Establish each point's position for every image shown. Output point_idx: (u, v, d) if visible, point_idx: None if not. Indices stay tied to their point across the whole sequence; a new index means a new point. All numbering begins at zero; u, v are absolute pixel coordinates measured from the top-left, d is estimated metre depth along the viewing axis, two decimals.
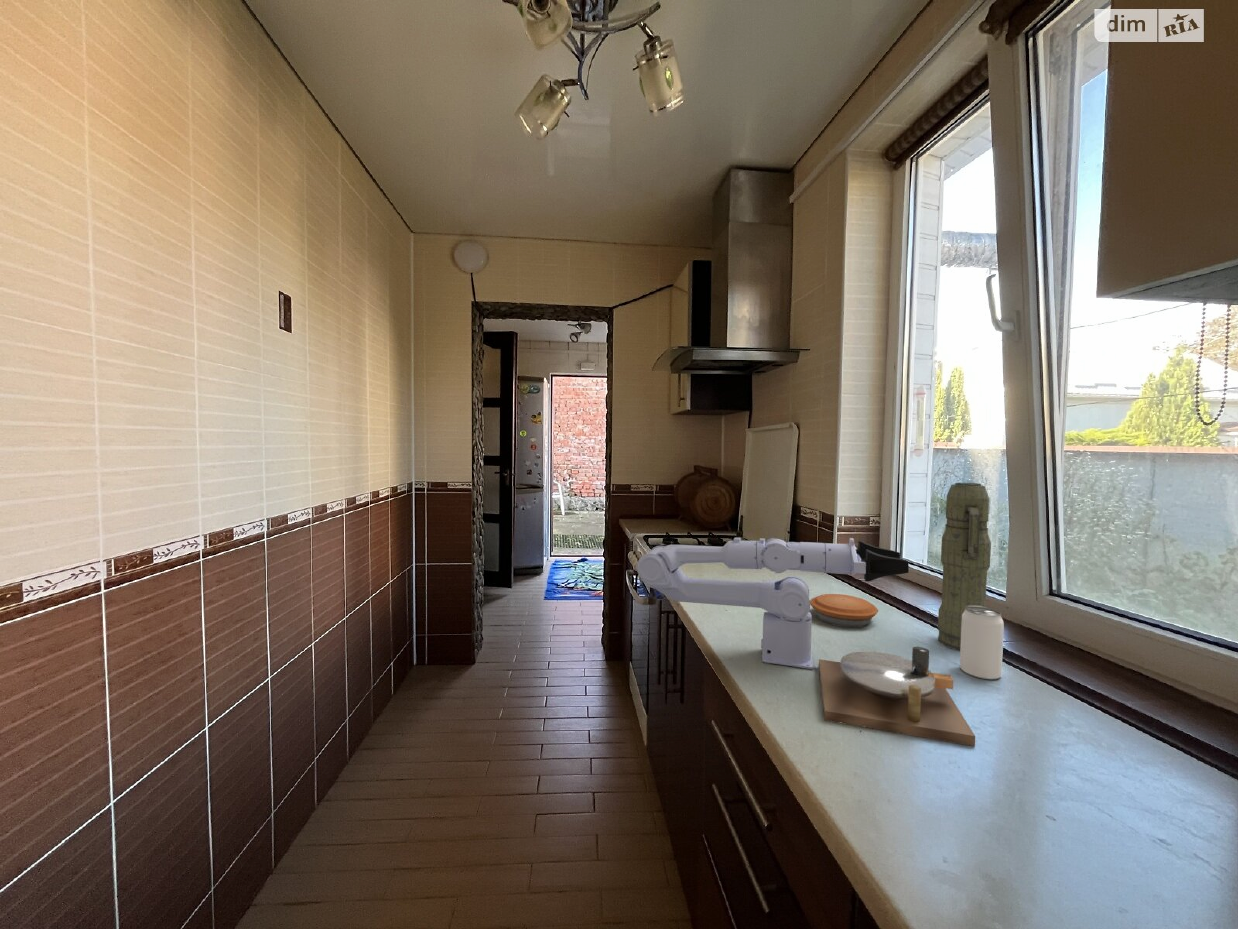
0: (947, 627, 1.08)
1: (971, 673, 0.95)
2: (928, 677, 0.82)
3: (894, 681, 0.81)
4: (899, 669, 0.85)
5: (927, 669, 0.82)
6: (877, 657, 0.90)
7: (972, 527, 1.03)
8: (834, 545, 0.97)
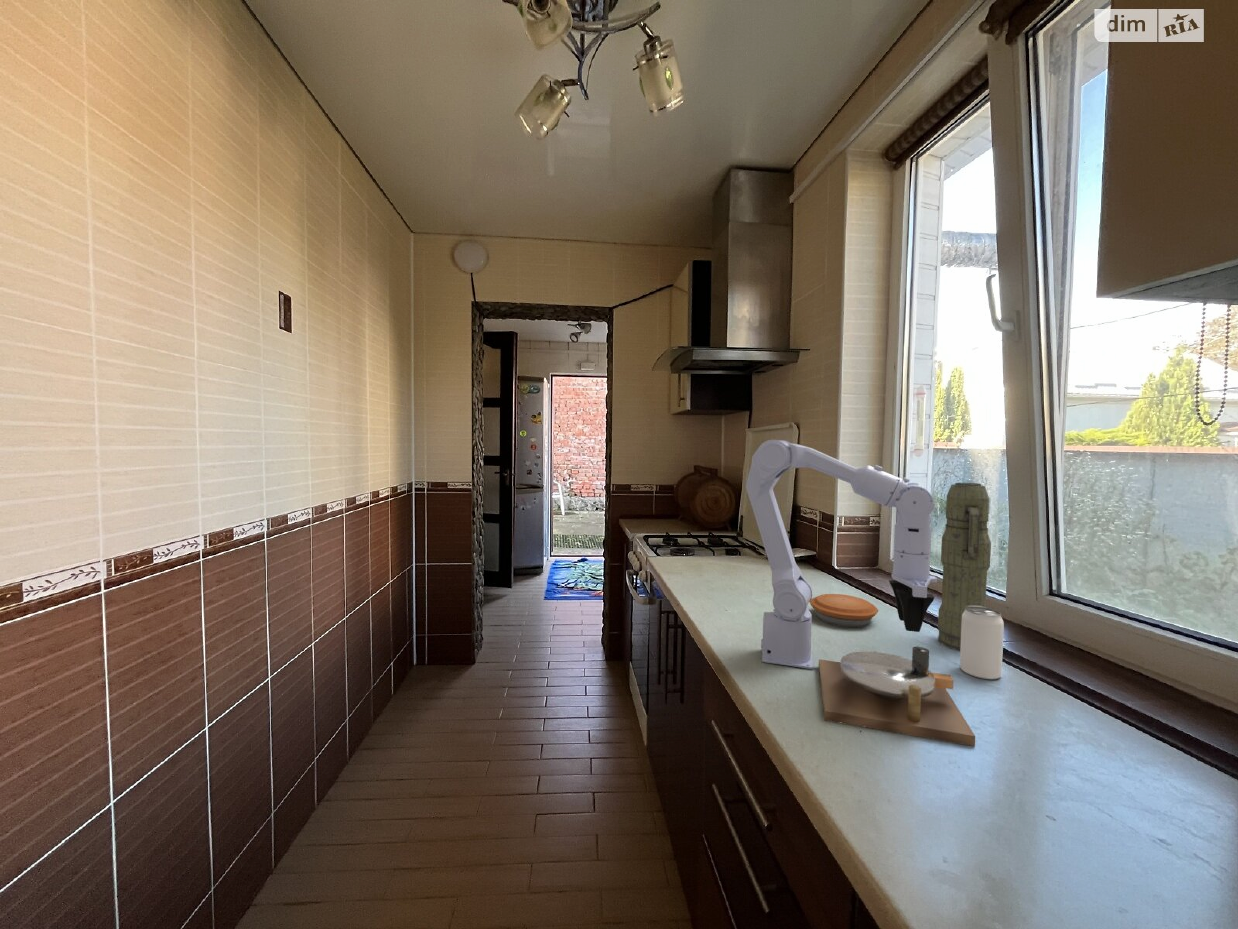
0: (947, 627, 1.08)
1: (971, 673, 0.95)
2: (928, 677, 0.82)
3: (894, 681, 0.81)
4: (899, 669, 0.85)
5: (927, 669, 0.82)
6: (877, 657, 0.90)
7: (972, 527, 1.03)
8: (929, 562, 0.89)
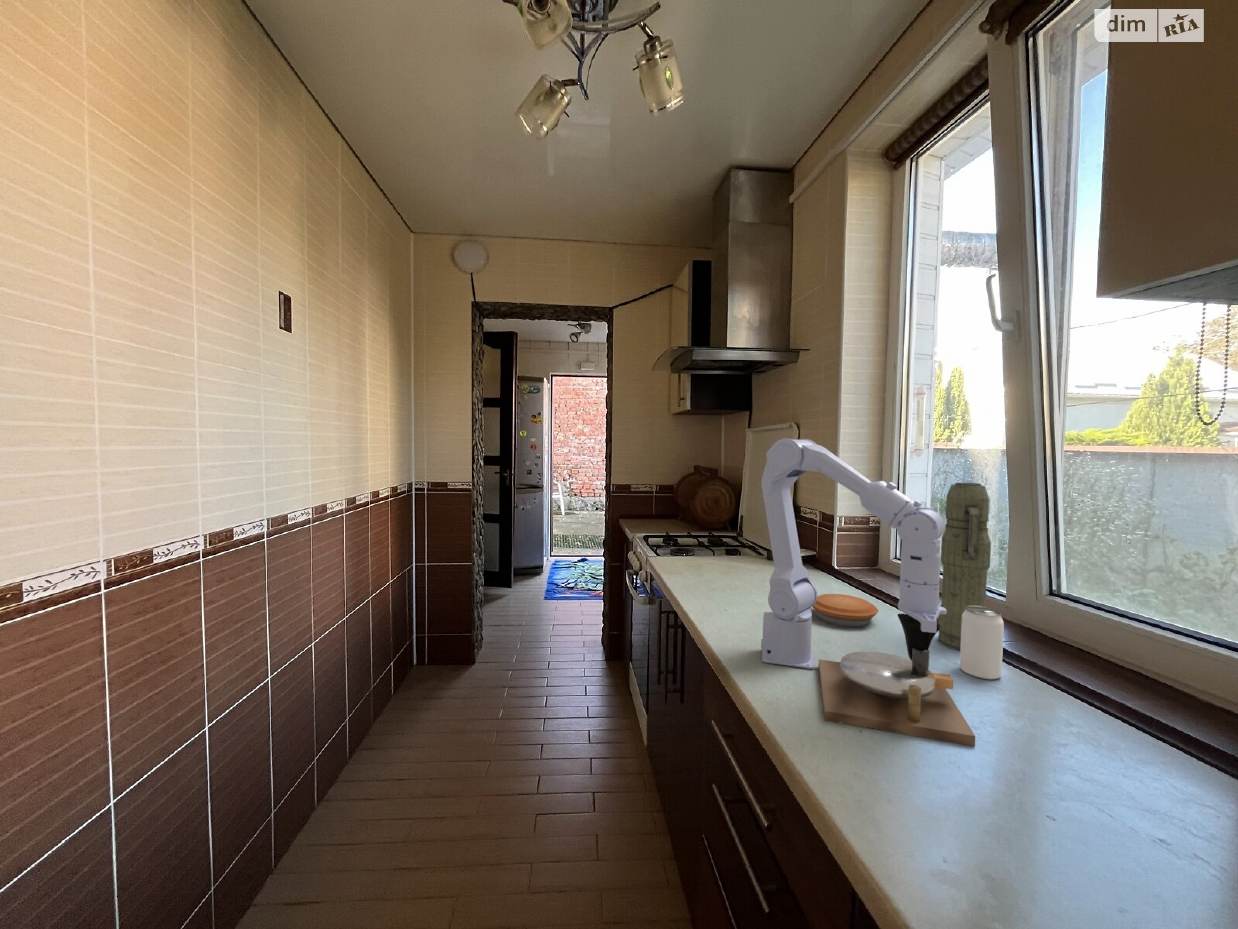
0: (947, 627, 1.08)
1: (971, 673, 0.95)
2: (928, 677, 0.82)
3: (894, 681, 0.81)
4: (899, 669, 0.85)
5: (927, 669, 0.82)
6: (877, 657, 0.90)
7: (972, 527, 1.03)
8: (938, 593, 0.84)
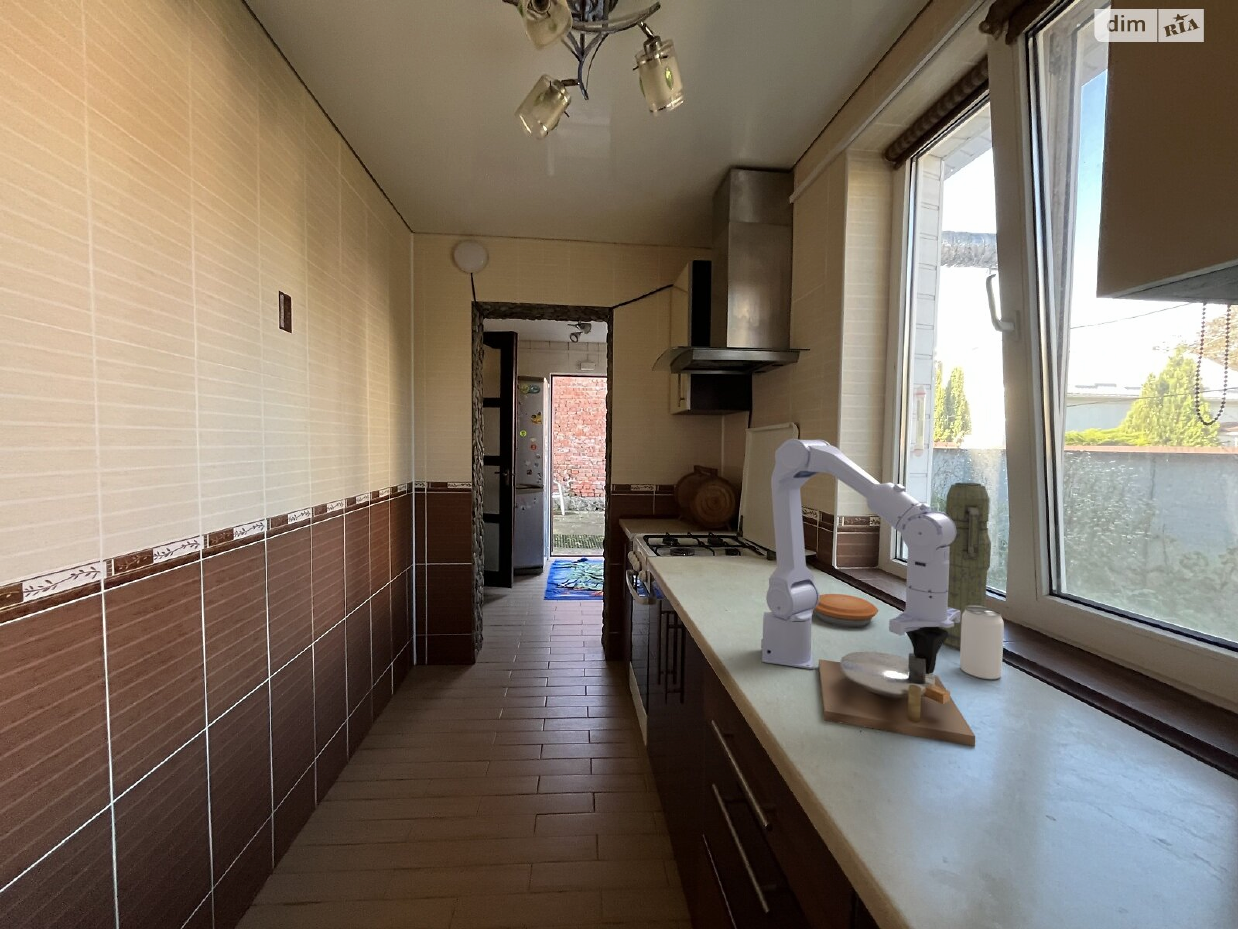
0: None
1: (971, 673, 0.95)
2: (918, 685, 0.79)
3: (872, 676, 0.82)
4: (900, 673, 0.83)
5: (919, 677, 0.80)
6: (897, 661, 0.88)
7: (972, 527, 1.03)
8: (939, 603, 0.78)
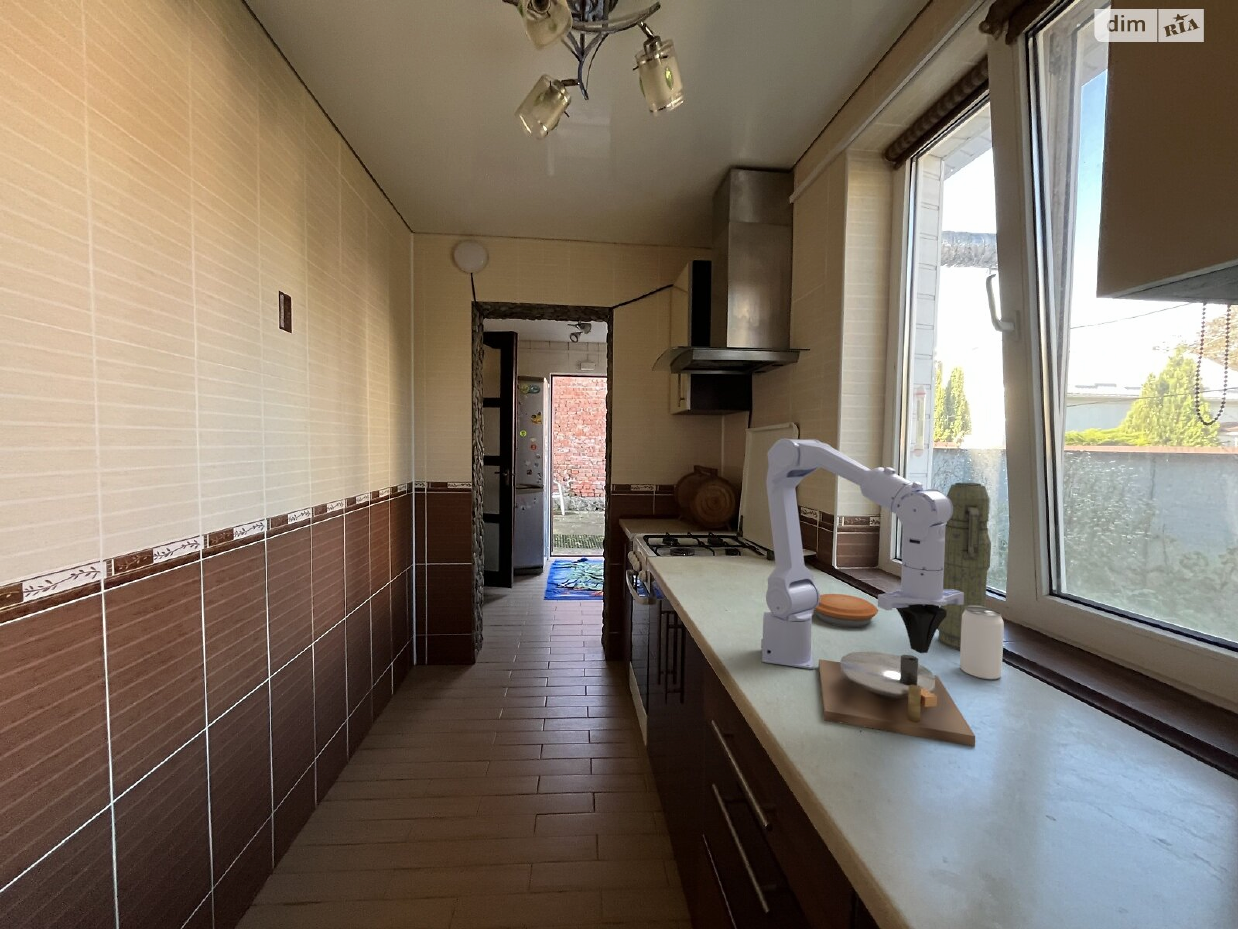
0: (947, 627, 1.08)
1: (971, 673, 0.95)
2: (906, 686, 0.79)
3: (863, 672, 0.84)
4: (898, 674, 0.83)
5: (908, 678, 0.79)
6: None
7: (972, 527, 1.03)
8: (931, 581, 0.77)
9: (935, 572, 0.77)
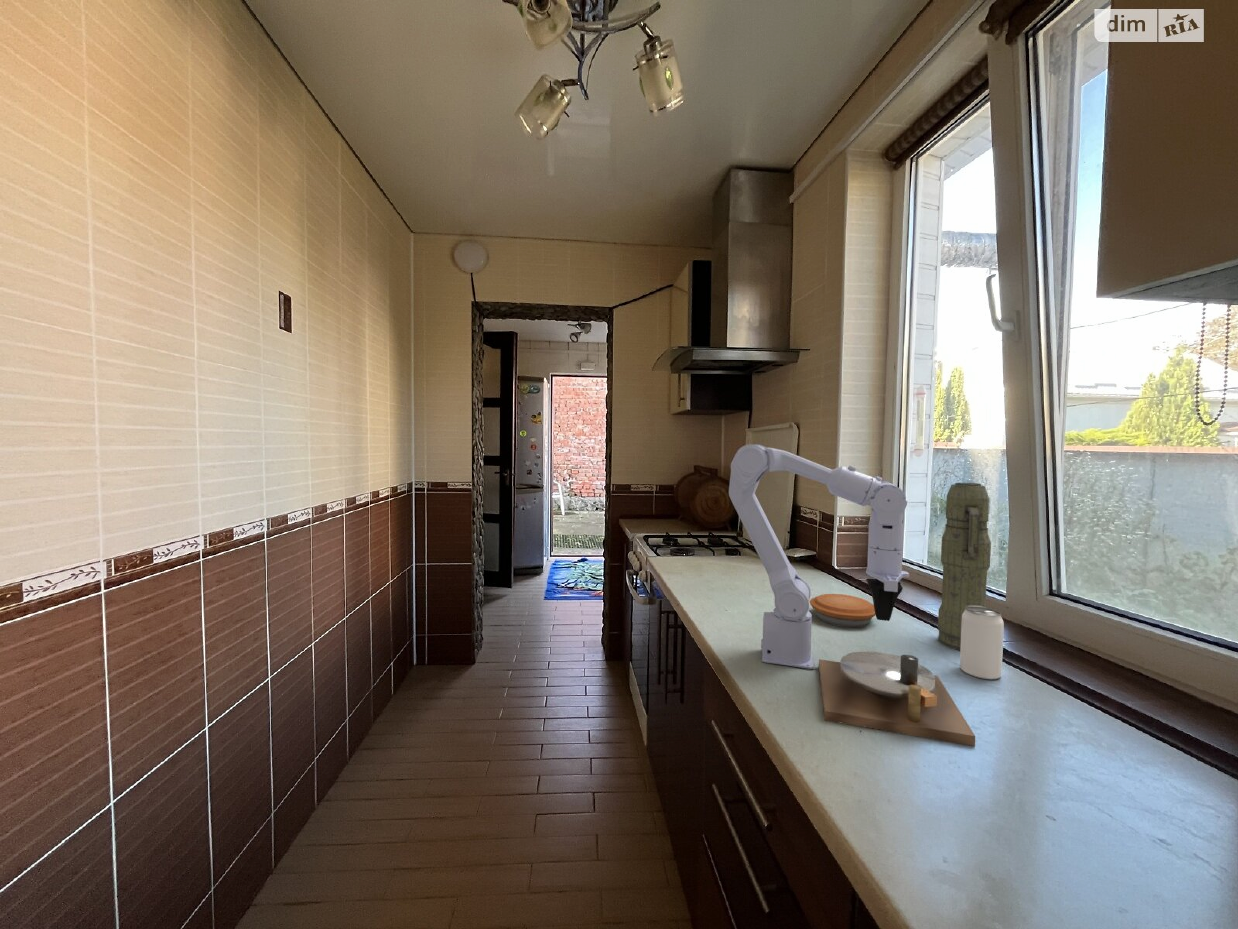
0: (947, 627, 1.08)
1: (971, 673, 0.95)
2: (906, 686, 0.79)
3: (863, 672, 0.84)
4: (898, 674, 0.83)
5: (908, 678, 0.79)
6: None
7: (972, 527, 1.03)
8: None
9: (902, 550, 0.93)
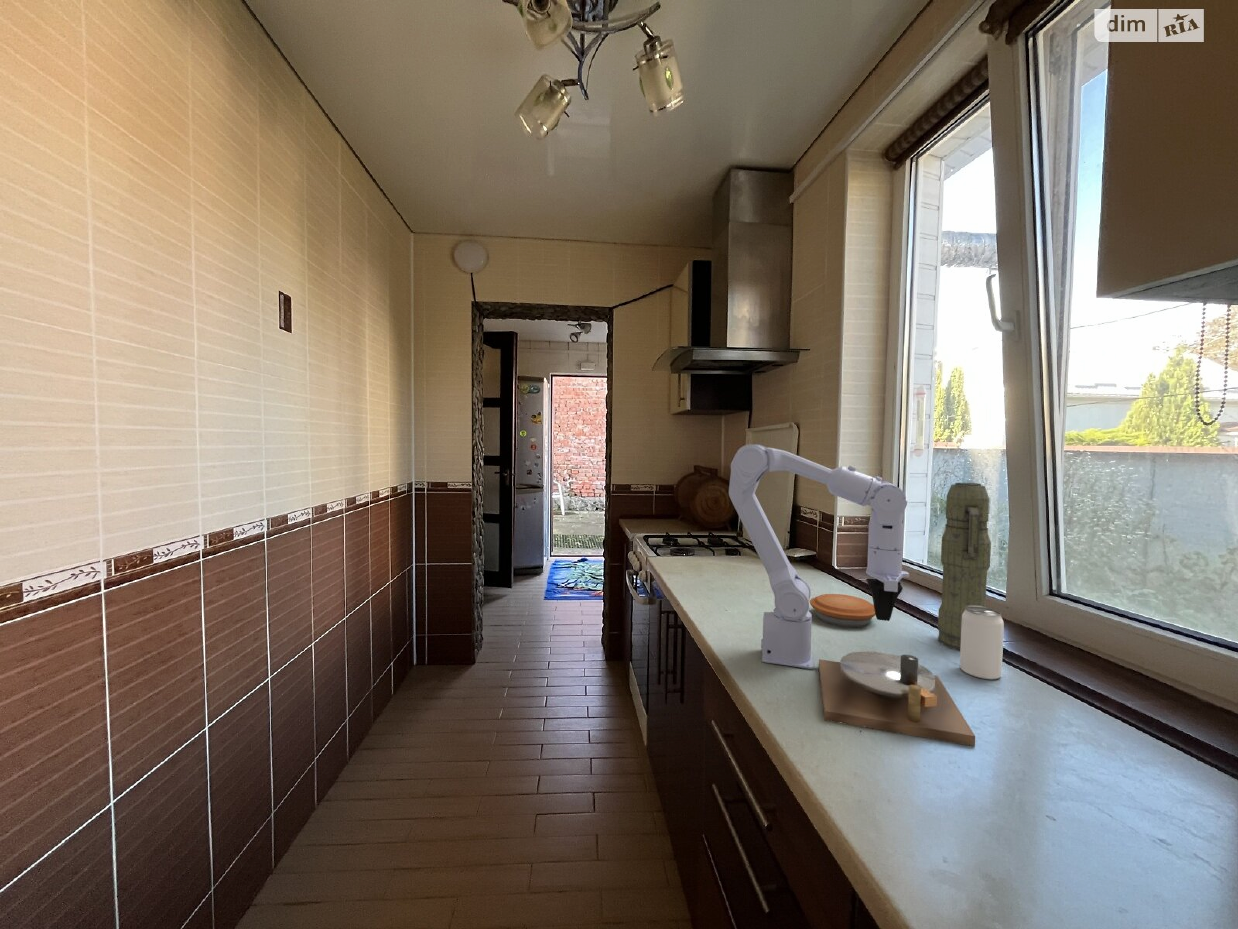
0: (947, 627, 1.08)
1: (971, 673, 0.95)
2: (906, 686, 0.79)
3: (863, 672, 0.84)
4: (898, 674, 0.83)
5: (908, 678, 0.79)
6: None
7: (972, 527, 1.03)
8: None
9: (902, 550, 0.93)
